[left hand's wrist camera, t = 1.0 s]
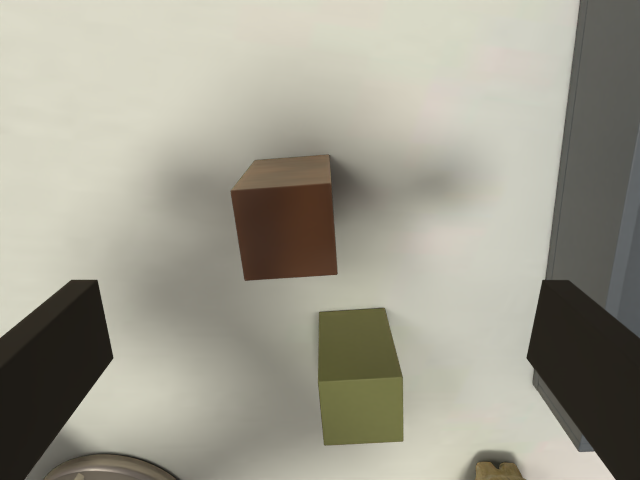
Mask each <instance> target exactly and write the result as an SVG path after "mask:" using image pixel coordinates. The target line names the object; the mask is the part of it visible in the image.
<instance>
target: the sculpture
mask: <svg viewBox="0 0 640 480" xmlns="http://www.w3.org/2000/svg"><path fill="white" fill-rule="evenodd" d="M475 480H526V479H524V478H523V477H522V475H521V473H520V471H519V470H518V468H517V466H516V465H515V464H514V463H506V462H504V463H501V464H500V466H499V469H497V468H495V466H494V465H493V464H492V463H491V462H478V463H477V465H476V479H475Z"/></svg>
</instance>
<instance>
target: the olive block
mask: <svg viewBox="0 0 640 480" xmlns="http://www.w3.org/2000/svg"><path fill="white" fill-rule="evenodd" d="M318 387H319V397H320V408H321V418H322V428H323V439H324V445H345V444H364V443H383V442H402V441H403V376H402V373H401V369H400V365H399V361H398V357H397V353H396V349H395V346H394V342H393V338H392V334H391V330H390V326H389V323H388V319H387V315H386V311H385V308H378V309H362V310H346V311H330V312H320V313H319V356H318Z"/></svg>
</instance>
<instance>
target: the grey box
mask: <svg viewBox="0 0 640 480" xmlns="http://www.w3.org/2000/svg"><path fill="white" fill-rule="evenodd" d="M546 280H569V281H571V282H572V283H573V284H574V285H575V286H577V287H578V288H579V289H580V290H582V291H583V292H584V293H585V294H586V295H588V296H589V297H590V298H591V299H593V300H594V301H595V302H596V303H597V304H599V305H600V306H601V307H602V308H604V309H605V310H606V311H607V312H608V313H610V314H611V315H612V316H613V317H615V318H616V319H617V320H618V321H619V322H621V323H622V324H623V325H624V326H626V327H627V328H628V329H629V330H630V331H632V332H633V333H634V334H635V335H637V336H638V337H639V338H640V0H581V1H580V9H579V17H578V25H577V33H576V41H575V50H574V58H573V66H572V74H571V82H570V90H569V98H568V106H567V114H566V122H565V130H564V138H563V146H562V154H561V162H560V170H559V178H558V186H557V194H556V202H555V210H554V218H553V226H552V235H551V243H550V251H549V259H548V267H547V275H546ZM533 385H534V387H535V388H536V390H537V391H538V392H539V394H540V395H541V397H542V398H543V400H544V401H545V402H546V404H547V405H548V407H549V408H550V410H551V411H552V413H553V414H554V416H555V417H556V419H557V420H558V422H559V423H560V425H561V426H562V428H563V429H564V431H565V432H566V434H567V435H568V437H569V438H570V439H571V441H572V442H573V444H574V445H575V447H576V448H577V450H578V451H579V452H590V451H594V449H593V448H592V447H591V445H590V444H589V442H588V441H587V440H586V438H585V437H584V436H583V434H582V433H581V432H580V430H579V429H578V428H577V426H576V425H575V423H574V422H573V421H572V419H571V418H570V417H569V415H568V414H567V413H566V411H565V410H564V408H563V407H562V406H561V404H560V403H559V402H558V400H557V399H556V398H555V396H554V395H553V393H552V392H551V391H550V389H549V388H548V387H547V385H546V384H545V383H544V381H543V380H542V378H541V377H540V376H539V374H538V373H537V372H536V370H535V371H534V379H533Z"/></svg>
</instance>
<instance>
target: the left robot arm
mask: <svg viewBox="0 0 640 480" xmlns="http://www.w3.org/2000/svg"><path fill="white" fill-rule="evenodd" d="M112 359H113V354H112V349H111V344H110V339H109V334H108V329H107V324H106V319H105V314H104V310H103V305H102V300H101V295H100V290H99V285H98V280H71V281H69V282H68V283H67V284H66V285H65V286H63V287H62V288H61V289H60V290H58V291H57V292H56V293H55V294H54V295H52V296H51V297H50V298H49V299H47V300H46V301H45V302H44V303H43V304H41V305H40V306H39V307H38V308H36V309H35V310H34V311H33V312H32V313H30V314H29V315H28V316H27V317H25V318H24V319H23V320H22V321H21V322H19V323H18V324H17V325H16V326H14V327H13V328H12V329H11V330H10V331H8V332H7V333H6V334H5V335H3V336H2V337H1V338H0V480H24V479H25V478H26V477H27V475H28V474H29V472H30V471H31V470H32V468H33V467H34V466H35V464H36V463H37V462H38V460H39V459H40V457H41V456H42V455H43V453H44V452H45V451H46V449H47V448H48V447H49V445H50V444H51V442H52V441H53V440H54V438H55V437H56V436H57V434H58V433H59V432H60V430H61V429H62V427H63V426H64V425H65V423H66V422H67V421H68V419H69V418H70V417H71V415H72V414H73V413H74V411H75V410H76V408H77V407H78V406H79V404H80V403H81V402H82V400H83V399H84V398H85V396H86V395H87V393H88V392H89V391H90V389H91V388H92V387H93V385H94V384H95V383H96V381H97V380H98V378H99V377H100V376H101V374H102V373H103V372H104V370H105V369H106V368H107V366H108V365H109V363H110V362H111V361H112ZM527 359H528V361H529V362H530V364H531V365H532V366H533V368H534V369H535V370H536V372H537V373H538V374H539V376H540V377H541V378H542V380H543V381H544V383H545V384H546V385H547V387H548V388H549V389H550V391H551V392H552V393H553V395H554V396H555V398H556V399H557V400H558V402H559V403H560V404H561V406H562V407H563V408H564V410H565V411H566V413H567V414H568V415H569V417H570V418H571V419H572V421H573V422H574V423H575V425H576V426H577V428H578V429H579V430H580V432H581V433H582V434H583V436H584V437H585V438H586V440H587V441H588V442H589V444H590V445H591V447H592V448H593V449H594V451H595V452H596V453H597V455H598V456H599V457H600V459H601V460H602V462H603V463H604V464H605V466H606V467H607V468H608V470H609V471H610V472H611V474H612V475H613V477H614V478H615V479H616V480H640V338H639V337H638V336H637V335H635V334H634V333H633V332H632V331H630V330H629V329H628V328H627V327H626V326H624V325H623V324H622V323H621V322H619V321H618V320H617V319H616V318H615V317H613V316H612V315H611V314H610V313H608V312H607V311H606V310H605V309H604V308H602V307H601V306H600V305H599V304H597V303H596V302H595V301H594V300H593V299H591V298H590V297H589V296H588V295H586V294H585V293H584V292H583V291H582V290H580V289H579V288H578V287H577V286H575V285H574V284H573V283H572V282H571V281H569V280H542V285H541V290H540V295H539V300H538V305H537V310H536V314H535V319H534V324H533V329H532V334H531V339H530V344H529V349H528V354H527ZM44 480H177V479H176V478H174V477H173V476H172V475H170V474H169V473H167V472H166V471H164V470H162V469H160V468H158V467H156V466H154V465H152V464H150V463H147V462H145V461H142V460H138V459H135V458H131V457H126V456H120V455H109V454H98V455H88V456H82V457H78V458H75V459H72V460H69V461H67V462H64V463H62V464H61V465H59V466H57V467H56V468H54V469H53V470H52V471H51V472H50V473H49V474H48V475H47V476H46V477H45V478H44Z"/></svg>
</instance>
